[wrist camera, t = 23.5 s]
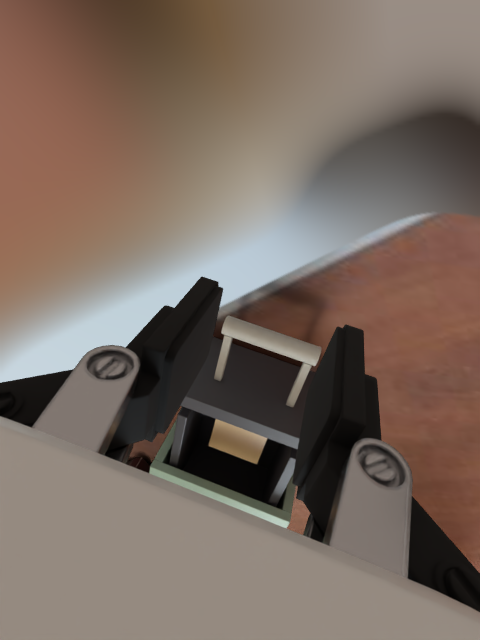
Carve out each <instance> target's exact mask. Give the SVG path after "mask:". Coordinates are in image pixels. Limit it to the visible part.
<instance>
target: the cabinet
mask: <svg viewBox="0 0 480 640" xmlns="http://www.w3.org/2000/svg"><path fill="white" fill-rule="evenodd" d="M176 422H177V419H176V421H175V423H174V425H173V426H172V428H171V430H170V432H169V434H168V435H167V437H166V439H165V441H164V443H163V444H162V446H161V448H160V450H159V451H158V453H157V455H156V457H155V459H154V460H153V462H152V464H151V466H150V472H149V474H152V475H154V476H157V477H159V478H162V479H164V480H167V481H169V482H172V483H174V484H177V485H179V486H182V487H184V488H187V489H189V490H192V491H194V492H197V493H199V494H202V495H204V496H207V497H209V498H212V499H214V500H217V501H219V502H222V503H224V504H227V505H229V506H232V507H234V508H237V509H239V510H242V511H244V512H247V513H249V514H252V515H254V516H257V517H259V518H262V519H264V520H267V521H269V522H272V523H274V524H276V525H279V526H281V527H284V528H287V526H288V525H289V523H290V519H291V513H292V506H293V500H294V493H295V487H296V485H294V484H292V480H293V475H292V477H291V479H290V481H289V483H288V485H287V486H286V488H285V490H284V492H283V494H282V496H281V498H280V500H279V502H278V504H277V506H276V507H273V506H271V505H268V504H266V503H263V502H261V501H258V500H256V499H253V498H250V497H248V496H245V495H243V494H240V493H238V492H235V491H233V490H230V489H228V488H225V487H223V486H220V485H218V484H215V483H213V482H210V481H208V480H205V479H202V478H200V477H197V476H195V475H192V474H190V473H187V472H185V471H182V470H180V469H177V468H175V467H172V466H170V465H169V462H170V456H171V450H172V445H173V439H174V434H175V428H176Z"/></svg>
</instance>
